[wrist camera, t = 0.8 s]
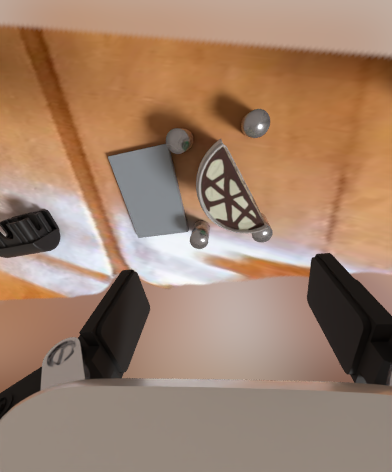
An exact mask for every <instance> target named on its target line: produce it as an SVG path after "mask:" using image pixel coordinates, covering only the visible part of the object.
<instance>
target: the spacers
mask: <svg viewBox="0 0 392 472" xmlns="http://www.w3.org/2000/svg"><path fill="white" fill-rule="evenodd" d="M269 126H270V117H269V115H268V113H267V112H266V111H265V110H262V109H256V110H253V111H252V112H250V113H248V114H247V115H246V116H245V117H244V118H243V119H242V122H241V130H242V132H243V134H244V135H246V136H248V137H252V138H258V137H261V136H263V135H264V134H265V133H266V132H267V130H268V129H269ZM193 142H194V138H193V135H192V133H191V132H190V131H189V130H188V129H182V128H175V129H172V130H170V131H169V132H168V134H167V136H166V145H167V147H168V149H169V150H170V151H171V152H172V153H175V154H181V153H183V152H185V151H187V150H188V149H190V148H191V147H192V145H193ZM261 216H262V218H263V220H264V222H265V224H266V226H267V228H268V229H265V230H262V231H259V232H255V233H252V237H253V239H254V240H255V241H257V242H266V241H268V240H269V239H270V238H271V237H272V229H271V227H270V225H269V223H268V221H267V219H266V217H265V216H264V215H263V214H262V213H261ZM209 230H210V226H209V224H208V223H207V222H206V221H203V220H200V221H197V222H196V223H195V224H194V227H193V231H192V234H191V237H190V243H191V245H192V246H193V247H194V248H197V249H202V248H204V247H206V246H207V244H208V238H209Z"/></svg>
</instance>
